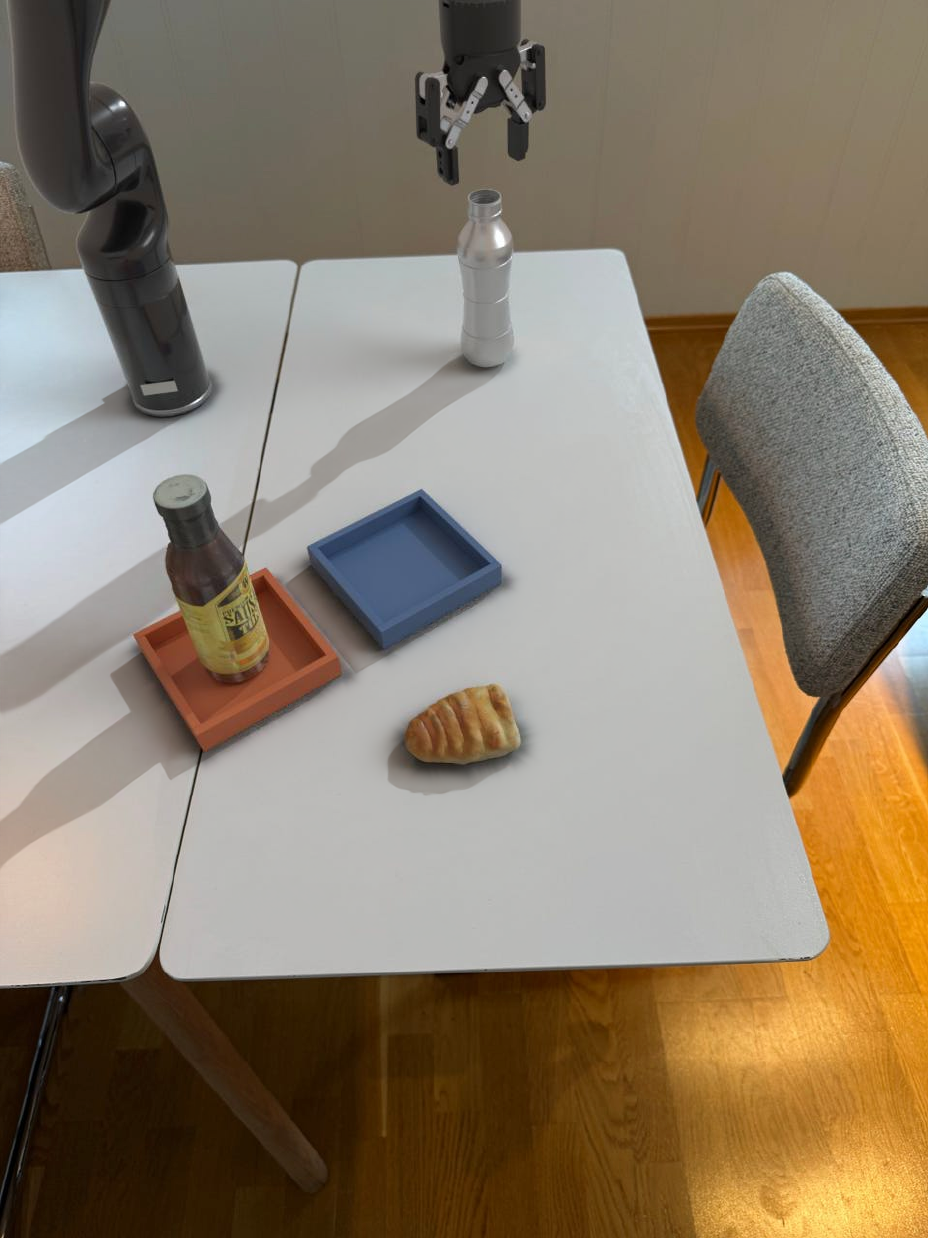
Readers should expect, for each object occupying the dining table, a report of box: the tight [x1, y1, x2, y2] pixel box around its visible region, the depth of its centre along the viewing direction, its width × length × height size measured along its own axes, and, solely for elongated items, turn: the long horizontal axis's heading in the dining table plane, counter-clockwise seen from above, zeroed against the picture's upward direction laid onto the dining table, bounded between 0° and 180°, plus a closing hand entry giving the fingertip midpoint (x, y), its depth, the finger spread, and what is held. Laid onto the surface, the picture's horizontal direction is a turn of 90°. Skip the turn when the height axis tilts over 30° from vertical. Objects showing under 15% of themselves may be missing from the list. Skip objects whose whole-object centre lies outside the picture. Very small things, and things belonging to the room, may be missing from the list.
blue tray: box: [306, 488, 503, 651], centre depth 87 cm, size 14×14×3 cm
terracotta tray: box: [132, 566, 343, 753], centre depth 81 cm, size 14×14×3 cm
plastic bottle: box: [455, 188, 515, 368], centre depth 103 cm, size 6×7×20 cm
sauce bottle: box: [152, 473, 269, 684], centre depth 74 cm, size 7×6×20 cm
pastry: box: [404, 683, 522, 766], centre depth 74 cm, size 9×7×4 cm
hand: (483, 170), depth 93 cm, fingers open, 8 cm apart
